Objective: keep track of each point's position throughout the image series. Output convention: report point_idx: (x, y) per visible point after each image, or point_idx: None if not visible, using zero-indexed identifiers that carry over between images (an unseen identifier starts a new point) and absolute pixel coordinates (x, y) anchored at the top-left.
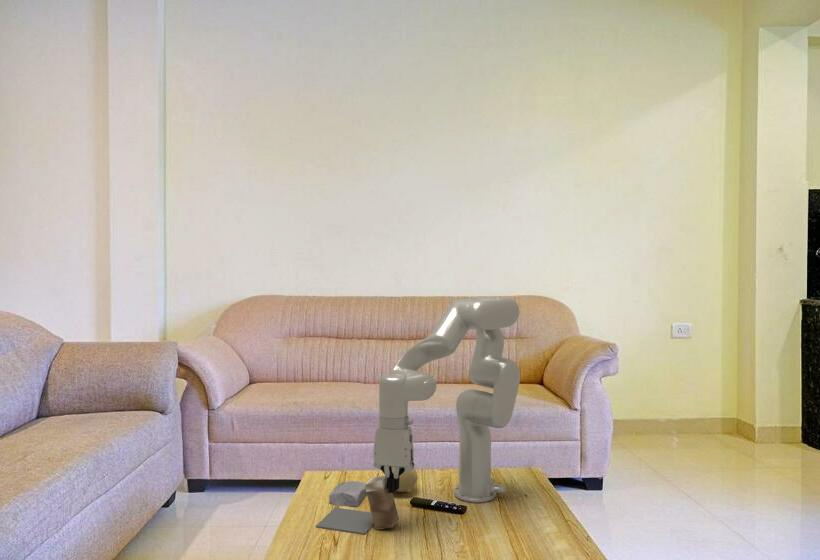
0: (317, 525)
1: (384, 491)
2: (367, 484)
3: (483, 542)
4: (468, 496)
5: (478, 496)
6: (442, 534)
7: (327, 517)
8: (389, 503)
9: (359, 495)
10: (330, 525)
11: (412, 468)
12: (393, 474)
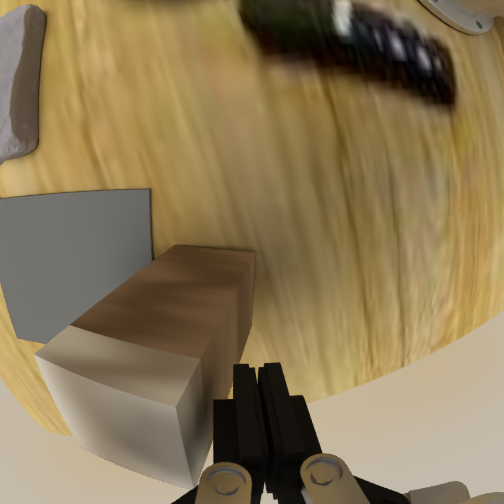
0: (19, 336)
1: (212, 436)
2: (97, 453)
3: (487, 282)
4: (450, 8)
5: (472, 16)
6: (412, 276)
7: (6, 281)
8: (232, 361)
9: (16, 126)
10: (42, 330)
11: (456, 501)
12: (259, 462)
